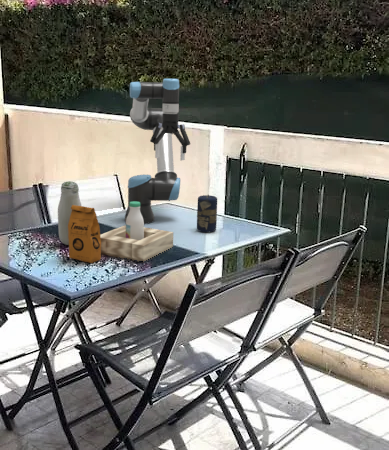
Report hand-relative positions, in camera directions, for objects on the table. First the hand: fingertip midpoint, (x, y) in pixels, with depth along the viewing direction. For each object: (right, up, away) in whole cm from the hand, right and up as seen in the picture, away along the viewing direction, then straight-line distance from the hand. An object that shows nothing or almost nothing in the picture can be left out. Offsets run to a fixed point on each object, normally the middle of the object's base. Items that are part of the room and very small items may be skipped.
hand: (169, 159), depth 268 cm
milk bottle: (-14, -41, -24) cm, 50 cm away
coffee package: (-32, -45, -38) cm, 67 cm away
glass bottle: (-42, -40, -18) cm, 61 cm away
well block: (-14, -42, -24) cm, 50 cm away
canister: (+17, -34, +10) cm, 39 cm away
